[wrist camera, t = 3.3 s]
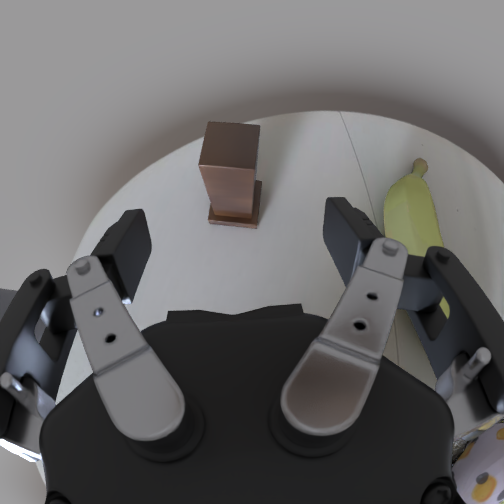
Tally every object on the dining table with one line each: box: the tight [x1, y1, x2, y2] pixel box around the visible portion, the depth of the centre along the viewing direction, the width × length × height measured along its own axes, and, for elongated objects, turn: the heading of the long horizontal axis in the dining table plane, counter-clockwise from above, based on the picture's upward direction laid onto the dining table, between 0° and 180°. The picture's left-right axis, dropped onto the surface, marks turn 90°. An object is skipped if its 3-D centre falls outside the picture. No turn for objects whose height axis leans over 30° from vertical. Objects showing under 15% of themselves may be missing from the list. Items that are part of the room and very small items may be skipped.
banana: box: [384, 158, 450, 326], centre depth 21 cm, size 14×6×20 cm
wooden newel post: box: [198, 122, 262, 229], centre depth 19 cm, size 4×4×10 cm
